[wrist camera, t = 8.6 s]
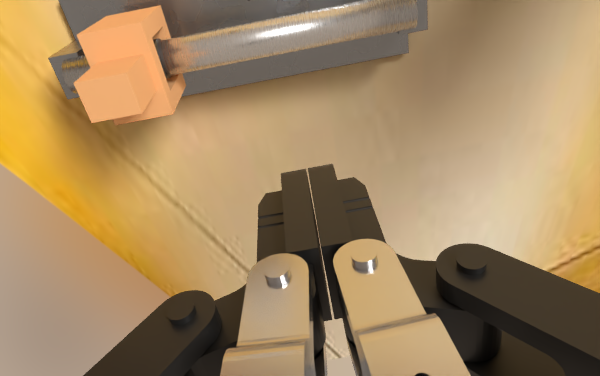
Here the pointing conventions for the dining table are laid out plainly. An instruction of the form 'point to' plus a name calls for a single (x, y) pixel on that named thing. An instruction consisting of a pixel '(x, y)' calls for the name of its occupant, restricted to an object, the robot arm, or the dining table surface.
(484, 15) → the dining table surface
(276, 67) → the pipe stand
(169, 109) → the collar
